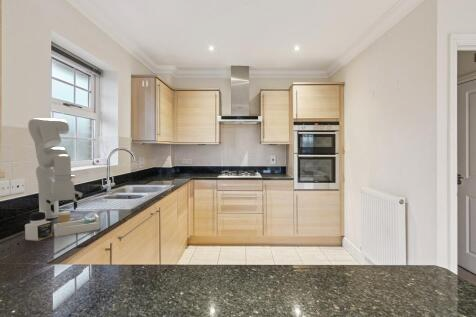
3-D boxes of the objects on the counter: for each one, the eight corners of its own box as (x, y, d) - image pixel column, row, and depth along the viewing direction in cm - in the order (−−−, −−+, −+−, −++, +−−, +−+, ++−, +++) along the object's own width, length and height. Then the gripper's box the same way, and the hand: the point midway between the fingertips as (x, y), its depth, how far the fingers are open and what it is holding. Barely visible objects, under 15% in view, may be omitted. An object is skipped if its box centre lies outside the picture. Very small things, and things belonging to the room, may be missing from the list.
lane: (53, 230, 137) (53, 219, 137) (96, 224, 148) (95, 213, 148) (54, 236, 128) (54, 223, 128) (99, 229, 139) (99, 217, 139)
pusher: (84, 224, 143) (84, 216, 143) (93, 222, 146) (93, 215, 146) (86, 227, 137) (86, 219, 137) (96, 226, 139) (96, 218, 139)
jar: (57, 225, 146) (57, 212, 145) (70, 224, 149) (70, 210, 149) (58, 228, 141) (57, 214, 141) (71, 226, 144) (71, 212, 144)
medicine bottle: (38, 241, 122) (37, 214, 122) (25, 240, 124) (23, 213, 123) (52, 235, 129) (51, 210, 129) (39, 235, 131) (38, 210, 130)
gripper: (80, 176, 152) (82, 207, 153) (42, 179, 142) (44, 212, 142) (82, 177, 146) (83, 209, 146) (42, 180, 136) (44, 214, 136)
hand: (64, 210), depth 144 cm, fingers open, 9 cm apart
